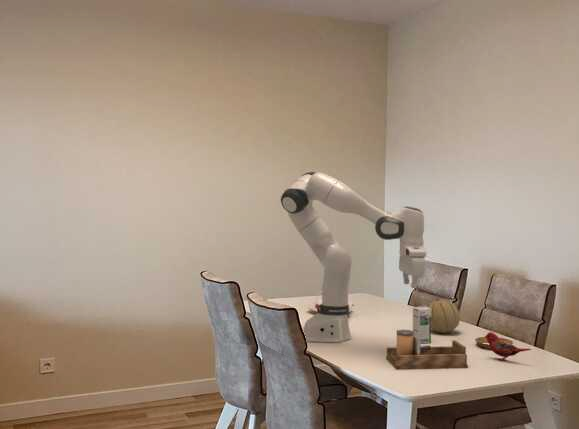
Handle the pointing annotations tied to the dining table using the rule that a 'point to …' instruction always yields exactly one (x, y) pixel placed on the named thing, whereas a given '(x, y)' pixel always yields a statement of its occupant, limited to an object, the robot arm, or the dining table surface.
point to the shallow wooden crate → (430, 358)
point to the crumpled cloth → (319, 301)
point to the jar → (405, 342)
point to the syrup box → (422, 323)
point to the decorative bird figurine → (502, 347)
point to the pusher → (418, 346)
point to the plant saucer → (484, 340)
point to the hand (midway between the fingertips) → (410, 286)
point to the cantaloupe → (444, 316)
